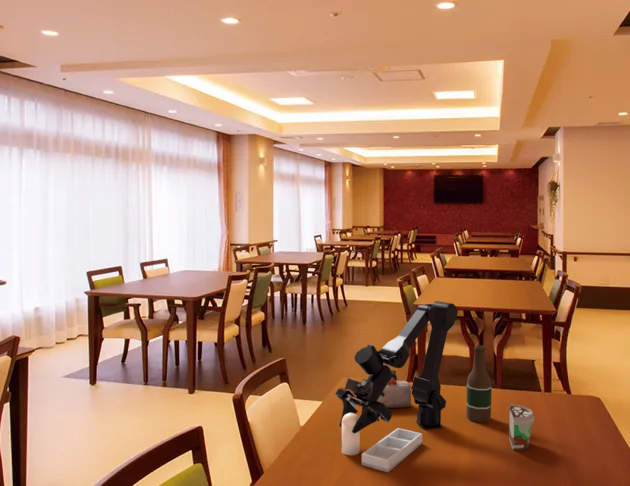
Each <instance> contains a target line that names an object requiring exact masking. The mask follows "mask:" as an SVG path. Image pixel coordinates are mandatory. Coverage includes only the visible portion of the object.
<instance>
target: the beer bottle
mask: <svg viewBox="0 0 630 486" xmlns="http://www.w3.org/2000/svg"><path fill="white" fill-rule="evenodd" d="M473 350H474V353H473V354H474V356H473V366H472V370H471V371H470V373H469V374H468V376H467V378H466V380H467V381H466V401H465V402H466V405H465V406H466V408H465V411H466V413H465V415H466V418H467V419H468V420H469V421H471V422H473V423H474V422H475V423H487V422H489V421H491V419H492V388H493V387H492V380H491V377H490V375H489V373H488V372H487V368H486V351H487V348H486V346H485V345H481V344H476V345H474V347H473Z"/></svg>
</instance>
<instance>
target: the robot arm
mask: <svg viewBox="0 0 630 486" xmlns="http://www.w3.org/2000/svg"><path fill="white" fill-rule="evenodd" d="M458 312H459V310H458V309H457V306H456V304H454V303H451V302H445V301H439V300H436V301H434V302H433V303H426V304H419V305H418V306H417V307H416V310H415V311H414V314H413V315H412V316H411V317H410V318H409V320H408V322H407V323H406V324H405V325H404V327H403V328H402V330H401V331H400V332H399V333H398V335H397V336H396V337H395V338H393V339H391V340H389V341H388V342H386V344H385V345H384V346H383V347H382V348H381V349H379V350H377V349H376V347H375V346H374V345H373V344H369V343H368V344H367V345H366V347H363V348H360V350H358V351H357V352H355V355H354V362H355V363H356V364H357V365H358V366H359V368H361V370H362V371H363V372H364V373H365V374H367V375H368V377H367V379H365V378H363V379H361V381H357V380H355V379H353V378H350V377H348V378H347V381H346V383H345V386H344V387H340V388H338V389H337V390H336V392H335V393H334V395H335V396H336V397H337V398H338V399H339V400H340V401H341V402H342V406H343V409H342V415H341V418H340V421H339V427H340V428H341V429H342V418H343V416H344V415H345V414H347V413H354V414H356V415H357V413H358V412H359V410H357V409H356V406H358V407H361V414H360V416H358V418H359V419H358V421H357V423H356V424H355V426H354V428H353V430H352V432H353V433H354V434H355V433H357V432H358V431H360V432H361V430H363V429H365V428H367V427H368V426H370V425H372V424H374V423H376V422H380V420H382V421H383V422H387V423H389V422H390V421H391V419H392V418H393V417H392V415H393V414H392V413H393V412H392V411H391V409H390V408H387V407H386V406H385V404H383V403H381V402H378V401H377V400H378V399H379V397H380V396H382V397H384V395H385V394H384V393H383V391H384V389H385V388H386V386H387V384H388V383H389V381H390V380H391V379H392V380H395V381H398V376H397V371H396V370H394V369H391V367H392V368H396V369H402V368H403V367H405V365H406V363H407V362H408V360H409V358H410V355H411V348H412V346H413V344H414V343H415V341H417V339H418V337H419V336H420V334H421V333H422V332H423V330H424V329H425V328H426V326H427V325H428V323H430V326H431V330H430V335H429V339H428V344H427V347H426V353H425V357H424V360H423V361H424V362H423V366H422V371H421V373H420V374H419V375H418V376H416V375H415V376H414V377H413V379H412V380H413V381H412V385H411V388H410V390H411V396H412V397H413V401H414V404H415V405H418V409H417V410H416V420H415V421H416V424H418V425H419V426H420V427H421V428H422V429H424V430H429V429H431V430H432V429H441V428H444V425H443V424H442V423H441V422H442V411H443V409H445V408H446V405H447V400H446V399H445V398H444V397H443V396H442V394H441V387H442V386H441V382H440V380H439V373H440V368H441V363H442V357H443V353H444V349H445V346H446V340H447V335H448V332H449V331H450V329H451V328H452V327H453V326H455V322H456V320H457V316H458Z"/></svg>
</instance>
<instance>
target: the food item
mask: <svg viewBox="0 0 630 486" xmlns="http://www.w3.org/2000/svg"><path fill="white" fill-rule="evenodd" d="M411 387H412V385H411V384H410V383H409V382H408V381H407V380H396V381H395V380H392V379H391V380H390V381H389V383H388V384H387V386H386V388H385V389H384V391H383V393H384V394H385V395H384V397H382V396H380V397H379V399H378V400H377V401H378V402H381V403H383V404H385V406H386V407H387V408H388V409H396V408H399V409H400V408H411V407H412V389H411Z"/></svg>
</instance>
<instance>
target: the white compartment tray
mask: <svg viewBox="0 0 630 486" xmlns="http://www.w3.org/2000/svg"><path fill="white" fill-rule="evenodd" d="M421 445H423V433H421V432H417V431H413V430H409V429H403V428H399V427H397V428H396V429H394V430H393V431H392V432H390V433H389V434H387V435H386V436H385V437H383V438H382V439H380V440H379V441H378V442H376V443H375V444H374V445H372V446H371V447H369V448H367V450H365V451H364V452H362V453H361V466H364V467H368V468H371V469H374V470H379V471H382V472H385V473H389V472H390V471H392V470H393V469H394V468H395V467H397V466H398V465H399V464H400V463H402V461H403V460H405V459H406V458H407V457H408V456H409V455H411V454H412V453H413V452H414V451H415V450H417V449H418V448H419V447H420V446H421Z"/></svg>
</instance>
